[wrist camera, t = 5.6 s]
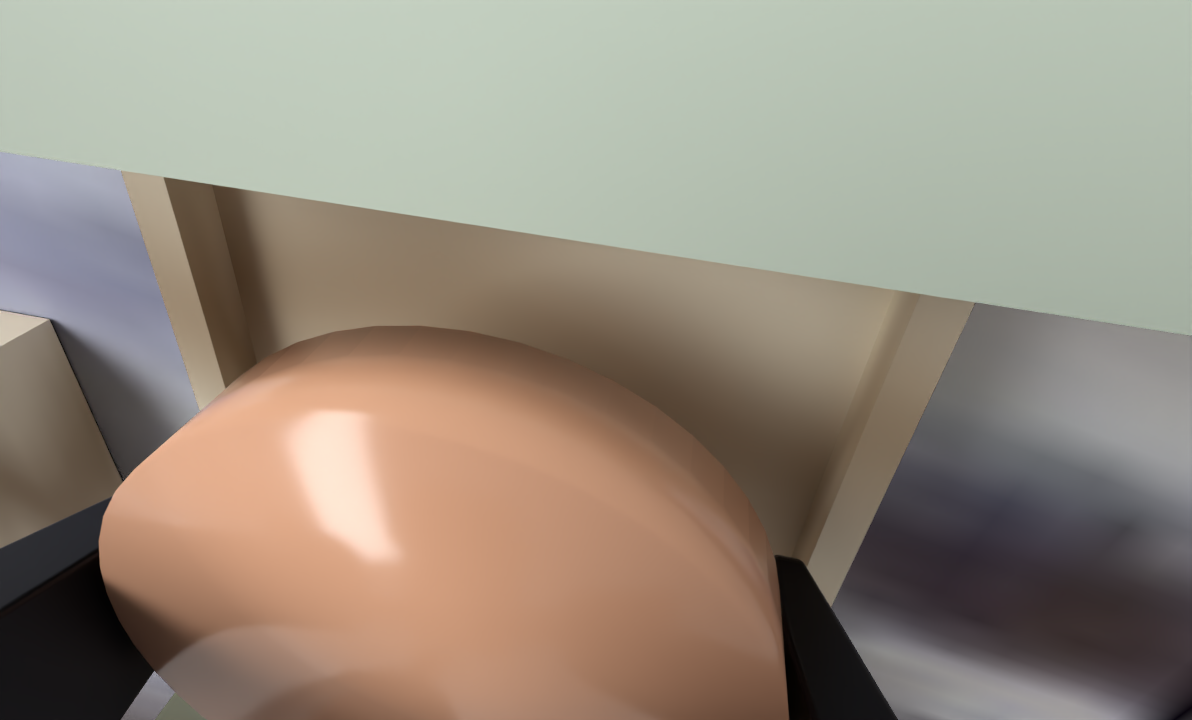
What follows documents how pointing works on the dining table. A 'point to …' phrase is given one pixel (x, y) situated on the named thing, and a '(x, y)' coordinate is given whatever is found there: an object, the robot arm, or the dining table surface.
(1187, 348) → the dining table surface
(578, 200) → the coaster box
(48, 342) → the maple block
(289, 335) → the wooden drawer
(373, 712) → the peach oval block
